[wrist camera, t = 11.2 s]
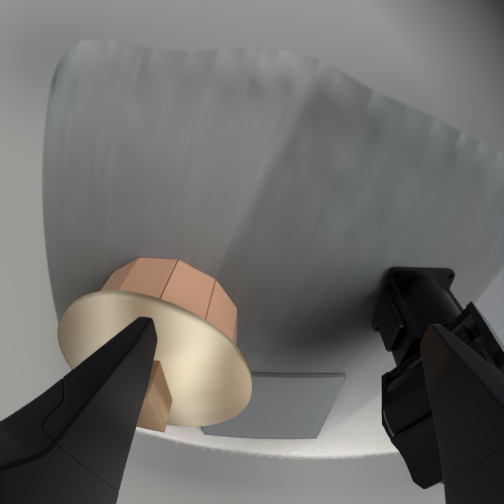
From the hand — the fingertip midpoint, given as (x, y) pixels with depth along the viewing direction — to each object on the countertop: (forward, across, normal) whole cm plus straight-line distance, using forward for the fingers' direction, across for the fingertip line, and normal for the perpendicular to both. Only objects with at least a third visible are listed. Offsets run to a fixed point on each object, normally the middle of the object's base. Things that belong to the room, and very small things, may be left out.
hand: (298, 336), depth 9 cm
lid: (+6, +9, +11) cm, 15 cm away
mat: (+12, 0, +26) cm, 29 cm away
